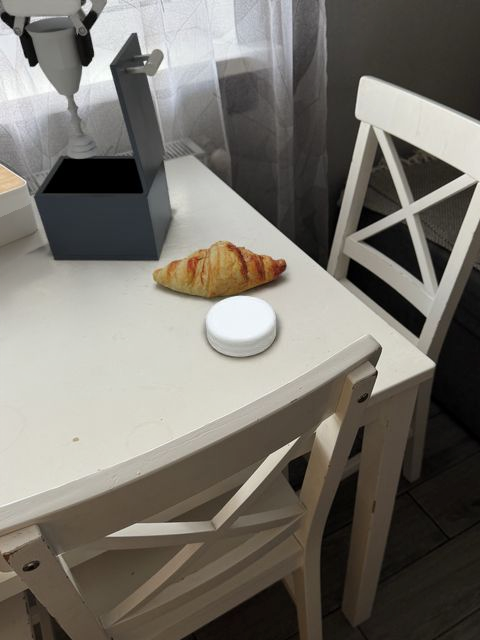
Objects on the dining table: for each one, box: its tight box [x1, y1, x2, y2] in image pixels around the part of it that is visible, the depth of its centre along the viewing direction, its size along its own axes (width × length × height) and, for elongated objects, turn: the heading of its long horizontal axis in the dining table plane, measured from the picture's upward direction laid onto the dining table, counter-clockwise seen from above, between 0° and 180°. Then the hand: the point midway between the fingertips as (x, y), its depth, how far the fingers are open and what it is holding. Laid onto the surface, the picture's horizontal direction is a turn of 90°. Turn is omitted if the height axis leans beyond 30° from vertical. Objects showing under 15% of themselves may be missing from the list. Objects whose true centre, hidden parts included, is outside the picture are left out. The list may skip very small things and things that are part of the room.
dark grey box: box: [33, 155, 173, 262], centre depth 101 cm, size 18×14×12 cm
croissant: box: [152, 240, 288, 299], centre depth 93 cm, size 21×10×8 cm, turn 95°
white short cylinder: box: [205, 295, 277, 358], centre depth 85 cm, size 10×10×4 cm
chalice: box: [25, 16, 101, 159], centre depth 87 cm, size 7×7×18 cm
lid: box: [109, 32, 166, 194], centre depth 90 cm, size 19×14×5 cm
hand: (61, 62), depth 84 cm, fingers closed on chalice, 6 cm apart
